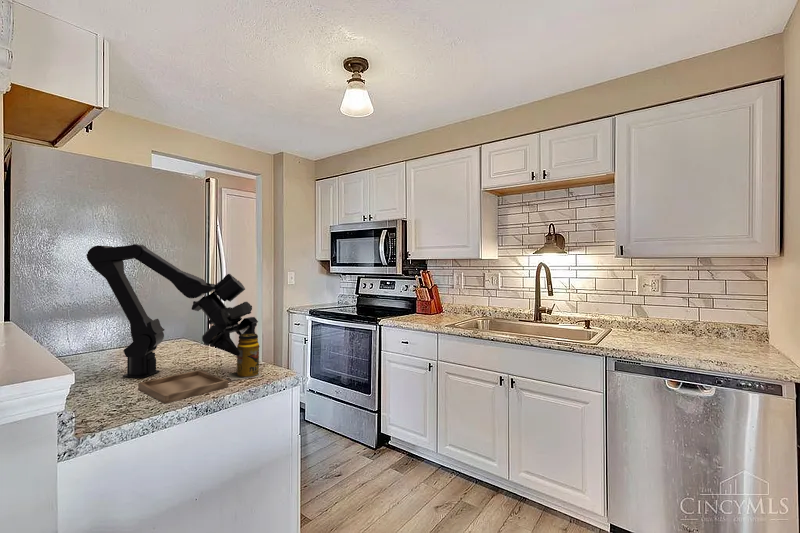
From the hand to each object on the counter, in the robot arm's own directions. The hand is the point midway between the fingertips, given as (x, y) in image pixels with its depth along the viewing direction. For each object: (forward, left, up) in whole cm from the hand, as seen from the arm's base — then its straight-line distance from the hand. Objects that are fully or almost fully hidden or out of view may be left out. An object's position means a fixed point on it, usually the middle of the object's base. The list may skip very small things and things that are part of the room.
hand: (249, 351), depth 114 cm
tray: (-11, -13, -7) cm, 19 cm away
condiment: (-1, 0, -7) cm, 7 cm away
